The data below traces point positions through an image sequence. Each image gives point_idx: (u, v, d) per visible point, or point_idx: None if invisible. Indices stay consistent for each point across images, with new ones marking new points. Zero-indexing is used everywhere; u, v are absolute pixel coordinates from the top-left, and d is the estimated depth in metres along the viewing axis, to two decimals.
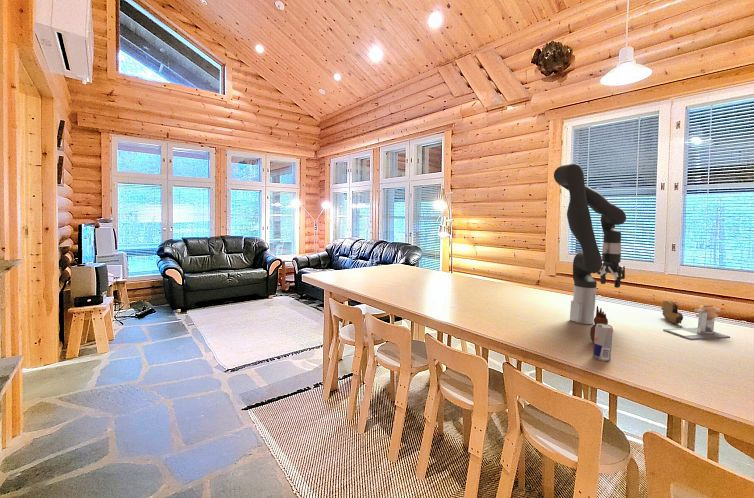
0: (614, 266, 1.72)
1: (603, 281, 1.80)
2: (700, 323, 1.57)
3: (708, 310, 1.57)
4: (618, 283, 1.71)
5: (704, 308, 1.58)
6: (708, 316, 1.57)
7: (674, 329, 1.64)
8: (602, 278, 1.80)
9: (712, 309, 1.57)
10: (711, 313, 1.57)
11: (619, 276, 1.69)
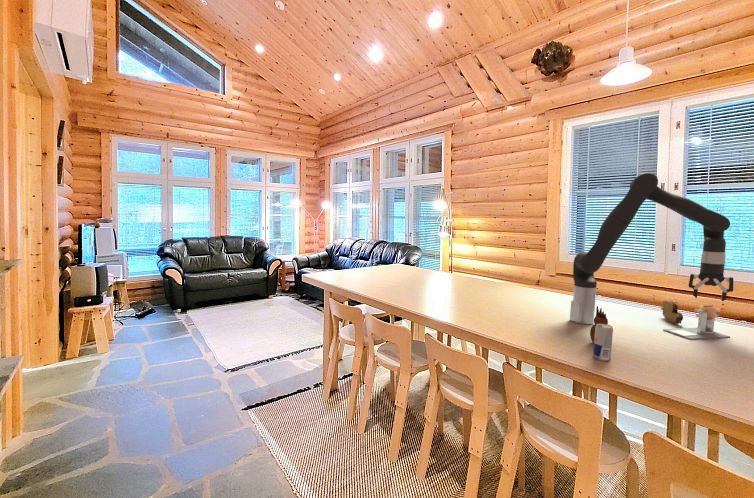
0: None
1: None
2: (700, 323, 1.57)
3: (708, 310, 1.57)
4: (693, 292, 1.62)
5: (704, 308, 1.58)
6: (708, 316, 1.57)
7: (674, 329, 1.64)
8: None
9: (712, 309, 1.57)
10: (711, 313, 1.57)
11: None
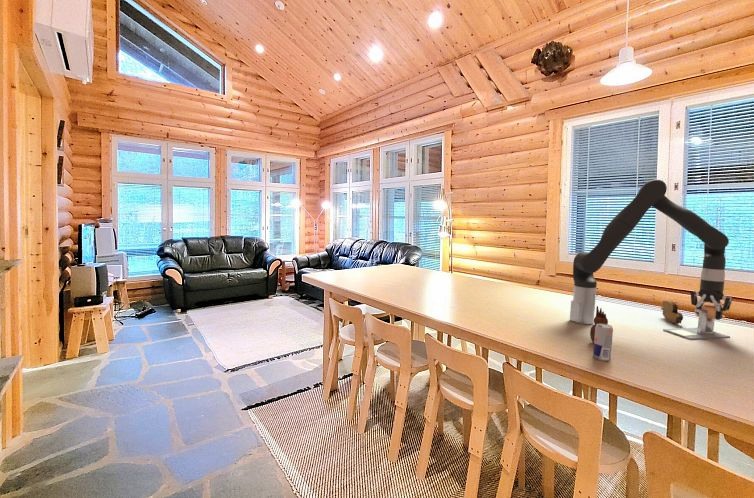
0: None
1: None
2: (700, 323, 1.57)
3: (707, 310, 1.57)
4: None
5: (703, 308, 1.58)
6: (707, 316, 1.57)
7: (674, 329, 1.64)
8: None
9: (711, 309, 1.56)
10: (710, 313, 1.56)
11: None
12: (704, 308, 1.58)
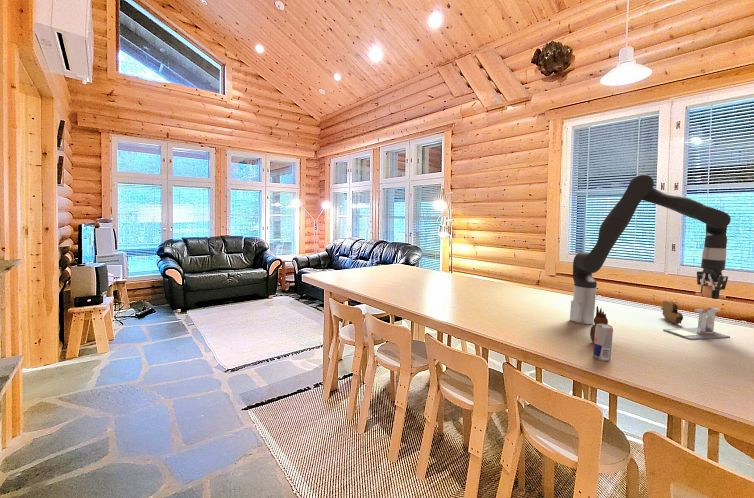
0: None
1: None
2: (700, 323, 1.57)
3: (704, 289, 1.58)
4: None
5: None
6: (704, 295, 1.58)
7: (674, 329, 1.64)
8: None
9: (707, 288, 1.57)
10: (707, 292, 1.57)
11: None
12: (703, 287, 1.59)
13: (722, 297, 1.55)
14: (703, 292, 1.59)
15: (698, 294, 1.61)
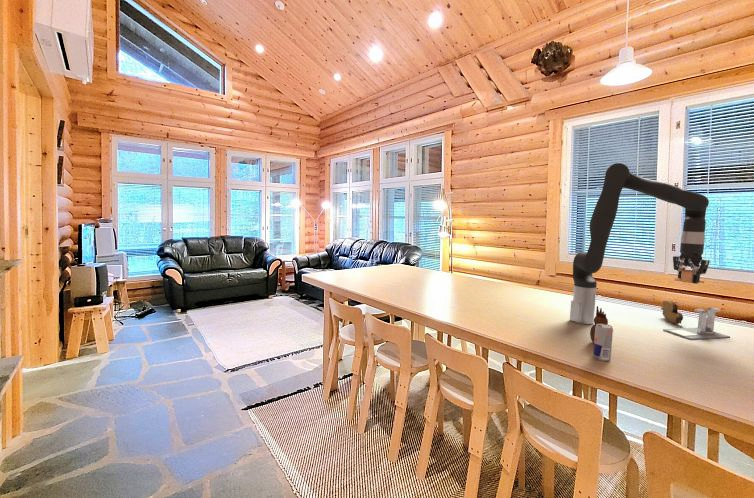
0: None
1: None
2: (700, 323, 1.57)
3: (684, 274, 1.55)
4: None
5: (682, 272, 1.57)
6: (684, 280, 1.55)
7: (674, 329, 1.64)
8: None
9: (688, 273, 1.54)
10: (687, 277, 1.54)
11: None
12: (682, 272, 1.56)
13: (701, 281, 1.54)
14: (683, 277, 1.56)
15: (677, 279, 1.57)
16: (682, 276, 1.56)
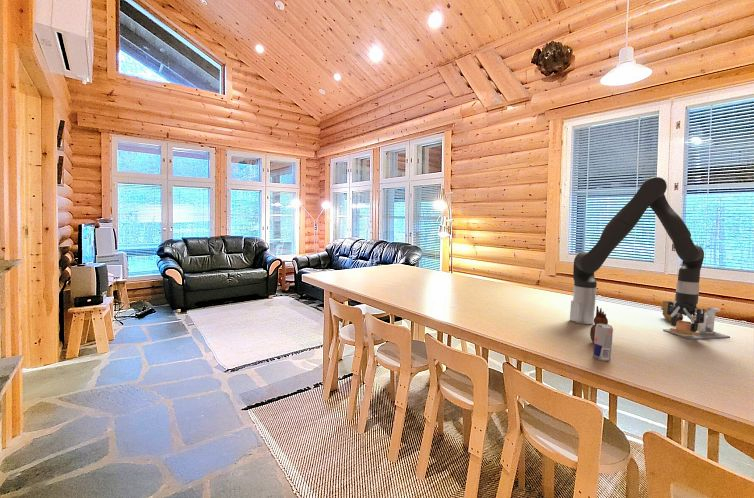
0: None
1: None
2: (700, 323, 1.57)
3: (679, 325, 1.58)
4: None
5: (677, 323, 1.59)
6: (679, 331, 1.58)
7: None
8: None
9: (683, 324, 1.56)
10: (682, 328, 1.57)
11: None
12: (677, 323, 1.59)
13: (695, 333, 1.56)
14: (678, 328, 1.58)
15: (672, 330, 1.60)
16: (677, 327, 1.59)
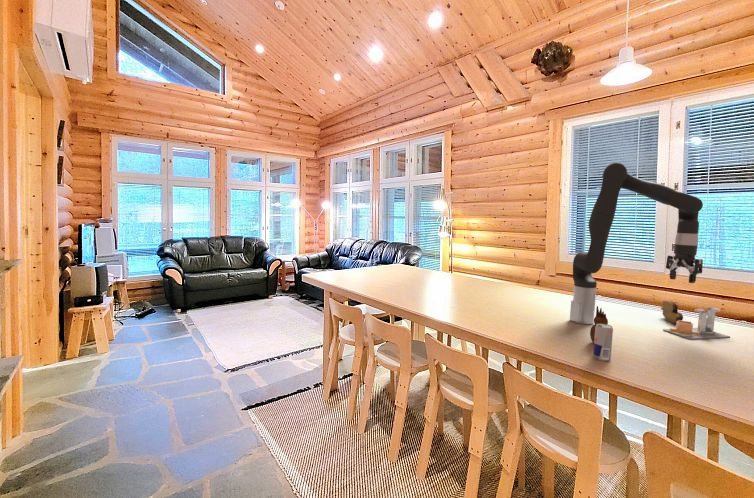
0: None
1: None
2: (700, 323, 1.57)
3: (679, 325, 1.58)
4: None
5: (677, 323, 1.59)
6: (679, 331, 1.58)
7: None
8: None
9: (683, 324, 1.56)
10: (682, 328, 1.57)
11: None
12: (677, 323, 1.59)
13: (695, 333, 1.56)
14: (678, 328, 1.58)
15: (672, 330, 1.60)
16: (677, 327, 1.59)
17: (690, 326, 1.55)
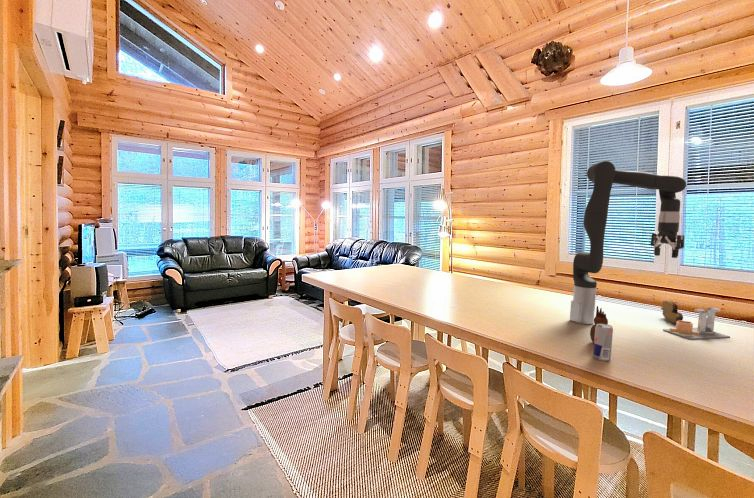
0: None
1: None
2: (700, 323, 1.57)
3: (679, 325, 1.58)
4: None
5: (677, 323, 1.59)
6: (679, 331, 1.58)
7: None
8: None
9: (683, 324, 1.56)
10: (682, 328, 1.57)
11: None
12: (677, 323, 1.59)
13: (695, 333, 1.56)
14: (678, 328, 1.58)
15: (672, 330, 1.60)
16: (677, 327, 1.59)
17: (690, 326, 1.55)
